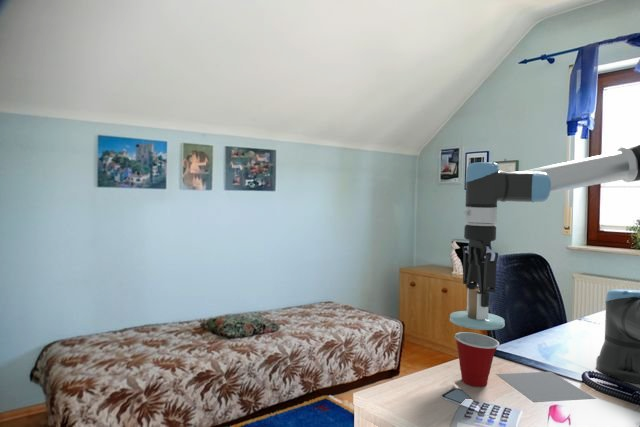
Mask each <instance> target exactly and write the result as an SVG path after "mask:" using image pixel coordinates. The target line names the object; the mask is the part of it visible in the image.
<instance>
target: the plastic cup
mask: <svg viewBox="0 0 640 427" xmlns="http://www.w3.org/2000/svg"><path fill="white" fill-rule="evenodd" d="M454 339H455V342H456V348H457V352H458V360H459V361H458V362H459V370H460V373H461V381H462V382H463V384H465V385H468V386H471V387H476V388H477V387H478V388H481V387H485V386H487V385H488V381H489V375H490V373H491V368H492V363H493V360H494V356H495V353H496V351H497V350H498V348H499V347H500V342H499V341H498V340H497V339H495V338H493V337H490V336H488V335H485V334H480V333H476V332H468V331H466V332H465V331H461V332H457V333H455V335H454Z"/></svg>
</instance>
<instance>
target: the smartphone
mask: <svg viewBox="0 0 640 427" xmlns="http://www.w3.org/2000/svg"><path fill="white" fill-rule="evenodd" d="M440 398H441V399H443V400H444V401H445V400H446V401H447V402H449V403H452V404H453V403H454V404H455V405H458V406H461V405H460V404H461V403H462V402H463V401H464V400H465V399H473V398H472V397H471V396H469V395H468V393H467V392H465V390H463V389H461V388H459V387H454V388H451V389H449V390H448V391H445V392H444V393H442V394H441V395H440Z"/></svg>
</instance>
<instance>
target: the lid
mask: <svg viewBox="0 0 640 427" xmlns="http://www.w3.org/2000/svg"><path fill="white" fill-rule="evenodd" d="M477 291H479V288H471V289H469V294H468V314H467V310H460V311H459V310H458V311H453V312H451V313H450V314H449V321H450V323H452V324H454V325H455V326H458V327H462V328H466V329H471V330H481V331H494V330H495V331H497V330H500V329H503V328H504V327H505V325H506V323H505V320H506V319H504V318H503V317H501V316H499V315H497V314H493V313H489V312H488V319H486V320H478V319H476V315H477Z"/></svg>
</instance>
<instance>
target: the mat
mask: <svg viewBox="0 0 640 427" xmlns="http://www.w3.org/2000/svg"><path fill="white" fill-rule="evenodd" d="M495 375H497V376H498V377H499V378H500V379H502V380H503V381H504V382H506V383H507V384H508V385H510V386H511V387H513V388H514V389H515V390H516V391H518V392H519V393H521V394H522V395H523V396H524V397H526V398H528V400H531V401H532V402H533V403H540V402H542V403H543V402H558V401H559V402H560V401H561V402H562V401H577V400H594V399H597V398H596V397H594V396H593V395H591V394H590V393H588V392H586V391H585V390H583V389H581V388H580V387H578V386H576V385H574V384H573V383H571V382H570V381H568V380H566V379H564V378H563V377H561V376H559V375H557V374H555V373H554V372H553V371H534V372H533V371H532V372H516V373H515V372H513V373H512V372H511V373H496V374H495Z"/></svg>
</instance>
